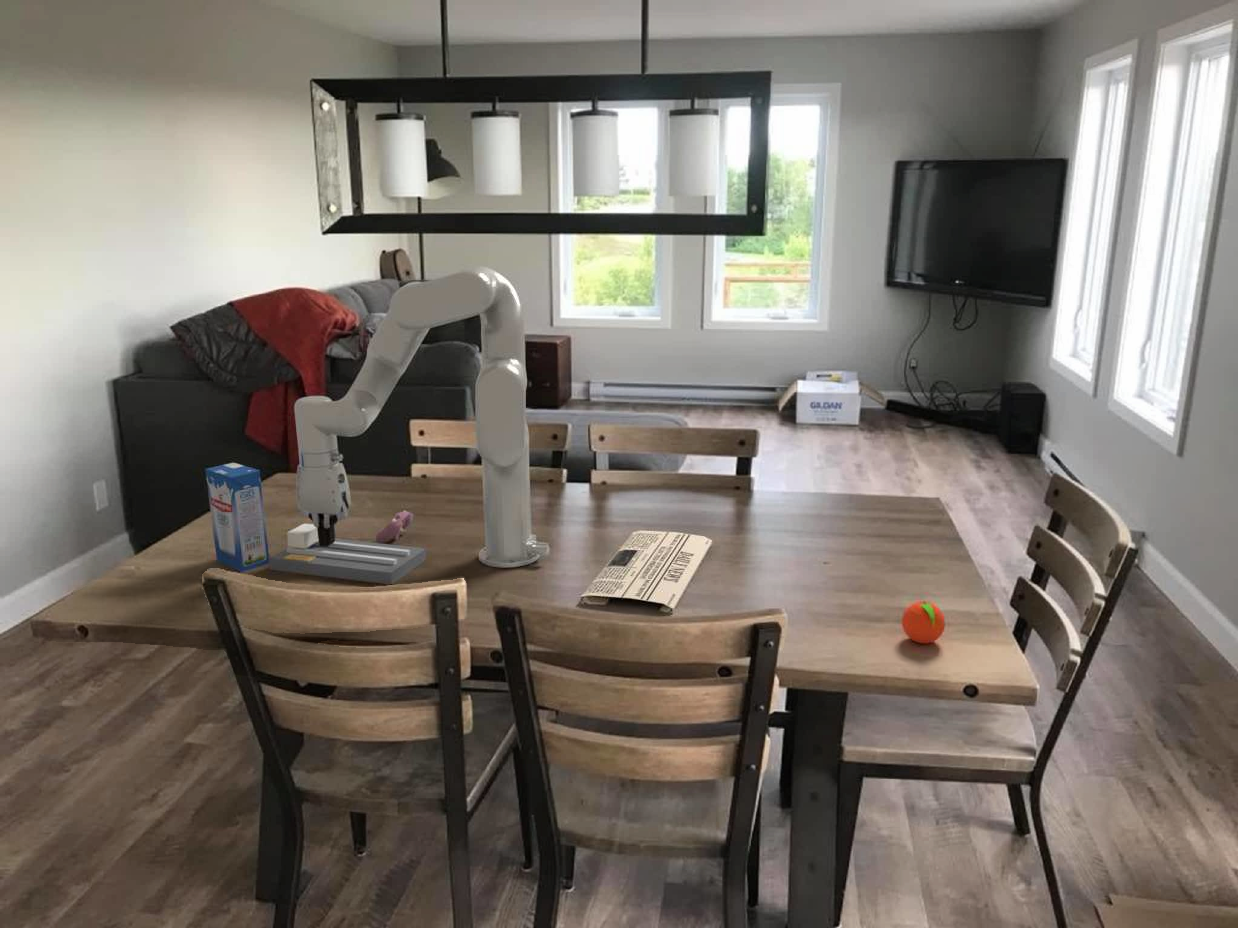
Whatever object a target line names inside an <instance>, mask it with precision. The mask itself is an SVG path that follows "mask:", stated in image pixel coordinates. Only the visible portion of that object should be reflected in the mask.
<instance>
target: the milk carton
mask: <svg viewBox="0 0 1238 928" xmlns="http://www.w3.org/2000/svg"><path fill="white" fill-rule="evenodd" d="M204 470H205V477H206V478H205V479H206V486H207V492H208V499H209V500H208V501H209V507H210V517H211V525H212V532H213V540H214V547H215V556H216V557H215V558H216V562H218V561H219V562H218V563H220V562H221V563H220V564H222V563H223V564H222V565H225V566H227V567H229V568H231V569H234V570H236V571H238V572H240V573H243V572H247V571H250V570H253V569H257V568H259V567H264V566H266V565H269V558H270V552H269V542H268V537H267V534H268V533H267V526H266V519H265V508H264V507H265V506H264V499H263V492H262V490H263V489H262V483H261V482H262V481H261V472H260V469H256V468H254V467H249V466H247V465H243V464H240V463H236V462H230V463H225V464H221V465H217V466H214V467H213V466H212V467H208V468H205V469H204Z"/></svg>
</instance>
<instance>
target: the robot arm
mask: <svg viewBox="0 0 1238 928" xmlns="http://www.w3.org/2000/svg"><path fill="white" fill-rule="evenodd" d="M522 306H523V305H522V302H521V299H520V297H519V294H518V293H517V291H516V289H515V287H514V286H513V285H512V283H510V282H509V280H508V279H507V278H506V277H504V276H503V275H502V274H501V273H499V272H497V271H496V270H494V269H493V268H489V267H487V266H484V265H477V264H476V265H469V266H467V267H465V268H463V269H462V270H460V271H459V272H456V273H452V274H448V275H445V276H441V277H437V278H434V279H431V280H427V281H423V282H422V281H412V282H408V283H406V284H404V285H403V286H401V287H400V288H398V289H397V290H396V291H395V292H394V293H393V295H392V297H391V298H390V302H389V308H388V310H387V312H386V314H385V316H384V317H383V319H382V321H381V323H380V325H379V326H378V327H377V330H376V331H375V332H374V334H373V336H372V337H371V339H370V341H369V343H368V345H367V350H366V358H365V360H364V362H363V365H362V367H361V369H360V371H359V372H358V374H357V376H356V378H355V380H354V381H353V383H352V385H351V386H350V387H349V388H350V389H349V390H348V392H347V393H346V394H345V395H344V396H343V397H342V398H340V399H338V400H334V401H333V400H332V399H331V398H330V397H328V396H325V395H310V396H304V397H300V398H298V399H297V400H296V401H295V402H294V419H295V427H296V428H295V429H296V438H297V447H298V458H299V459H298V460H299V464H298V465H297V469H296V487H295V488H296V501H297V506H298V509H299V510H300V512H299V513H300V515H301V516H302V517H303V516H304V517H305V518H309V519H310V520H311V522H312V524H314V526H315V527H317V532H318V540H319V545H320V546H325V547H327V546H329V545H331V544H333V543H334V542H335V539H336V533H335V525H336V524H337V523H338V521H343V520H346V519H348V518H349V517H350V516H349V512H348V509H350V508H352V499H351V498H352V497H351V492H350V486H349V480H348V477H347V473H346V469H345V467H344V464H343V463H342V461H343V459H344V455H343V454H342V453H339V449H338V438H337V436H340V437H349V438H351V437H357V436H360V435H362V434H363V433H364V432H365V431H367V429H368V428H369V427H370V426H371V424H372V423H373V422H374V421H375V420H376V419H377V417H378V416H379V413H380V412H381V411H382V409H383V407H384V405H386V404H385V403H386V402H387V400H388V398H389V397H390V395H391V393H392V392H393V390H394V388H395V387H396V385H397V383H398V381H399V380H400V378H401V377H402V376H403V374H404V373H406V370H407V368H408V366H409V364H410V363H411V362H412V360H413V358H414V356H415V354H416V353H417V351H418V349H419V347H420V346H421V344H422V342H423V341H424V339H425V337H426V336H427V334H428V332H429V331H430V329H431V328H435V327H438V326H443V325H447V324H450V323H453V322H457V321H461V320H465V319H468V318H472V317H475V316H478V315H479V317H480V325H481V327H480V328H481V330H480V331H481V333H480V334H481V335H480V339H481V367H480V370H479V373H478V376H477V378H476V382H475V395H474V396H475V397H474V399H475V401H474V402H475V445H476V449H477V452H478V454H479V455H480V457H481V466H482V468H481V469H482V470H481V472H482V474H481V475H482V497H483V518H484V537H485V546H484V547H483V548H482V549H481V550H479V552H478V560H479V562H480V563H482V564H484V565H486V566H489V567H493V568H502V569H505V568H509V569H510V568H518V567H524V566H526V565H530V564H532V563H535V562H536V561H537V560H538V559H539V558H540V556H549V555H550V551H551V550H550V546H549V543H548V542H543V541H542V542H540V541H538V540H537V535H536V534H533V533H532V518H531V517H532V515H531V513H532V512H531V489H530V487H531V483H530V479H531V478H530V435H529V434H530V433H529V432H530V431H529V426H528V422H527V420H526V419H527V417H526V415H527V413H526V412H527V411H526V409H527V405H526V404H527V401H526V398H527V397H526V396H527V392H526V391H527V387H528V377H527V370H526V369H527V367H526V341H525V340H526V339H525V338H526V336H525V333H526V332H525V318H524V317H525V315H524V311H523V307H522Z"/></svg>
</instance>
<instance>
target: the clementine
mask: <svg viewBox="0 0 1238 928" xmlns="http://www.w3.org/2000/svg"><path fill="white" fill-rule="evenodd" d="M901 625H902V628H903V632H904V633H905V635H907V637H908V638H909V639H910V640H912V641H914V642H916V643H918V644H930V643H933V642H936V641H937V640H938V639H939V638H940V637H941V636H942V634H943V632H944V631H945V628H946V619H945V615H944V614H943V612H942V610H940V608H939V607H938V606H937V605H935V604H934V603H932V602H929V601H916V602H914V603H912V604H910V605H908V607H906V609H905V610H904V612H903V614H902V618H901Z"/></svg>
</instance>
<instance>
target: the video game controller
mask: <svg viewBox="0 0 1238 928" xmlns="http://www.w3.org/2000/svg"><path fill="white" fill-rule="evenodd" d="M414 516H415V514H414V513H412V512H411V511H406V510H403V511H399V512H397V513H395V514H394V515H393V516H392V517H393V518H392V519H391V520H390V521H389V523H388V524H387V525H386V526H385V528H383V529H382V530H381V531H380V532H378V533H377V535H376V537H375V541H376V543H380V544H387V542H389V541H391V540H394V541H397V540H398V539H399V537H400V536H403V535H404V534H406V532H407V529H408V528H409V527H410V525H411V524H412V522H413V520H414Z"/></svg>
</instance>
